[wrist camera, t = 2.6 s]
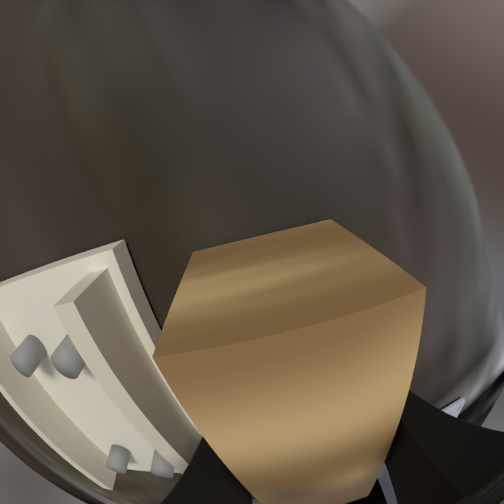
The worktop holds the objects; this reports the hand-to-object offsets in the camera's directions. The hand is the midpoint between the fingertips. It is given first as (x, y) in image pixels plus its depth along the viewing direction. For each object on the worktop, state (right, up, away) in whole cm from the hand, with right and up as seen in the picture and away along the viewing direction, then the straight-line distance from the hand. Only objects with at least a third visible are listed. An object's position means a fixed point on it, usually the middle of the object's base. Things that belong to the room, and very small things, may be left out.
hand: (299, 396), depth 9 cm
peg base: (-9, -2, +1) cm, 9 cm away
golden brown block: (0, 0, +1) cm, 2 cm away
